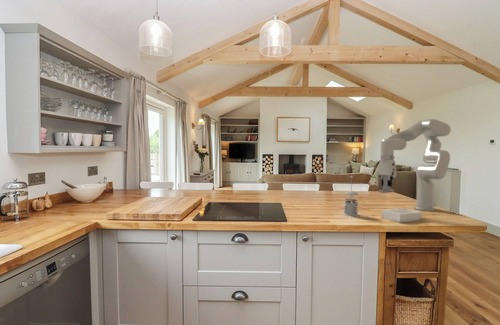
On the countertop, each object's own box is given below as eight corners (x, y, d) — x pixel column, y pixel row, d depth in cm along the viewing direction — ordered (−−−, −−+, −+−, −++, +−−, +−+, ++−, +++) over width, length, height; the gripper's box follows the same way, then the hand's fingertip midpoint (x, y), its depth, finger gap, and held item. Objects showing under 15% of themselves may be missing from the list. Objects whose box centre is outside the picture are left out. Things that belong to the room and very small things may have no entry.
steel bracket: (389, 191, 176) (389, 174, 175) (394, 192, 172) (394, 174, 171) (378, 192, 172) (378, 174, 171) (383, 193, 168) (383, 175, 168)
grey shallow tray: (403, 215, 166) (403, 207, 166) (421, 220, 155) (421, 211, 154) (381, 217, 159) (382, 209, 159) (399, 222, 148) (399, 214, 148)
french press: (341, 215, 164) (342, 175, 163) (344, 211, 174) (345, 174, 173) (358, 217, 160) (359, 176, 159) (360, 213, 170) (361, 175, 169)
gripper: (402, 158, 164) (402, 187, 165) (380, 157, 180) (380, 184, 181) (394, 158, 162) (393, 187, 163) (372, 157, 177) (372, 184, 178)
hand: (386, 185), depth 172 cm, fingers closed on steel bracket, 4 cm apart
